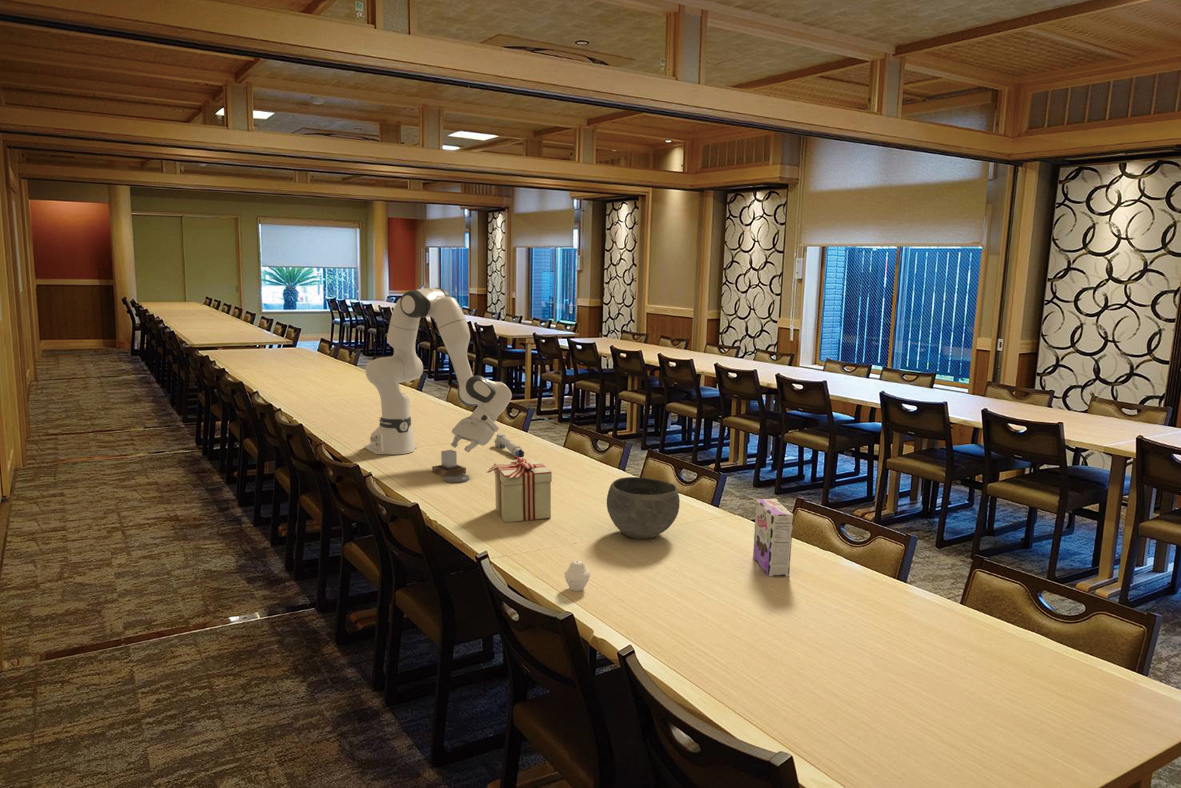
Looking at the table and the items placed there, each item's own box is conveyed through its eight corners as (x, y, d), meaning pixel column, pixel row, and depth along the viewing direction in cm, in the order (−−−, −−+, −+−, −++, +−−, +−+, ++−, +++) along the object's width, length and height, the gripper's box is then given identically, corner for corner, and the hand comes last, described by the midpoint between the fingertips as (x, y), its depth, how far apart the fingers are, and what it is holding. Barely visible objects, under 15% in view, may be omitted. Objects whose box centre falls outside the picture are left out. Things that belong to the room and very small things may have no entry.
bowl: (657, 553, 216) (659, 499, 214) (591, 537, 227) (592, 486, 225) (690, 532, 234) (692, 482, 231) (627, 519, 245) (629, 471, 242)
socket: (432, 471, 296) (432, 466, 296) (453, 468, 302) (453, 463, 301) (444, 476, 289) (444, 471, 289) (466, 473, 295) (466, 467, 295)
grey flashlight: (513, 450, 317) (493, 429, 339) (513, 465, 319) (492, 444, 341) (526, 448, 320) (504, 428, 341) (525, 464, 322) (503, 443, 343)
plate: (438, 479, 286) (438, 476, 285) (459, 475, 292) (459, 472, 292) (453, 484, 279) (453, 481, 279) (474, 480, 286) (474, 477, 286)
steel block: (441, 472, 296) (441, 451, 294) (450, 470, 298) (450, 449, 297) (447, 474, 293) (446, 453, 291) (456, 472, 295) (456, 451, 294)
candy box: (752, 557, 214) (755, 498, 212) (773, 557, 215) (777, 498, 212) (767, 577, 201) (771, 514, 198) (790, 576, 201) (794, 513, 199)
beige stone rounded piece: (559, 591, 189) (560, 563, 188) (569, 582, 195) (570, 554, 194) (584, 595, 187) (584, 567, 186) (593, 586, 193) (594, 558, 192)
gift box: (482, 510, 251) (482, 456, 248) (537, 504, 258) (538, 452, 256) (498, 526, 236) (498, 469, 233) (556, 520, 243) (557, 464, 240)
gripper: (461, 410, 308) (439, 438, 303) (491, 418, 292) (468, 448, 288) (471, 421, 311) (450, 448, 306) (501, 429, 296) (479, 459, 291)
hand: (459, 448), depth 297 cm, fingers open, 8 cm apart
